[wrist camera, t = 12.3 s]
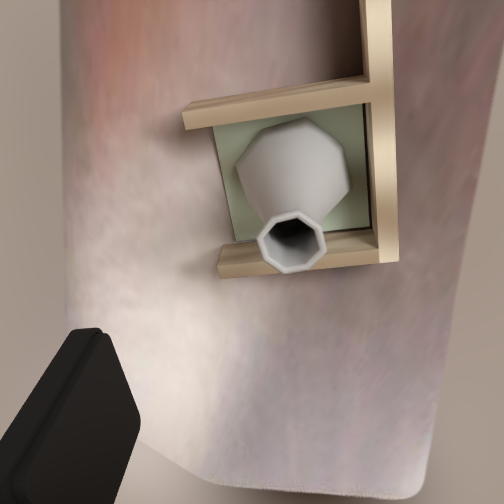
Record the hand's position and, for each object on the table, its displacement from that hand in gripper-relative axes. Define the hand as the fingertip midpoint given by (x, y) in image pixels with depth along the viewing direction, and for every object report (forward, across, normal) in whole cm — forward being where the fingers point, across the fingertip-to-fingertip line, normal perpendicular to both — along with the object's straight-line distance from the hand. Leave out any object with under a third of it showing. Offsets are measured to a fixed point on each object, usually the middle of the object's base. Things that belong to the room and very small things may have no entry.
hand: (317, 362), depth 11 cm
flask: (+22, +1, +4) cm, 22 cm away
